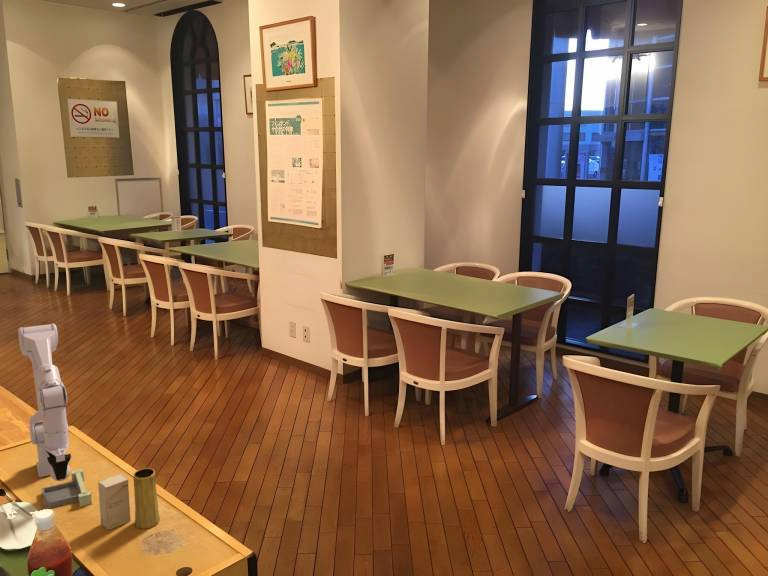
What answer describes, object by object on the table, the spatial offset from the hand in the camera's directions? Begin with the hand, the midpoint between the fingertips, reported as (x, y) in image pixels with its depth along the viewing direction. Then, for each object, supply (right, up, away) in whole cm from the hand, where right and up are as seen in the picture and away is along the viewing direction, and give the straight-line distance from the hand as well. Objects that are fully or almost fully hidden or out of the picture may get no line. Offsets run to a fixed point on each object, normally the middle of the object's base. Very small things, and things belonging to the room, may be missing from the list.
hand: (59, 474), depth 175 cm
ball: (0, +1, 0) cm, 1 cm away
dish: (0, -7, +2) cm, 7 cm away
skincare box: (+19, -10, -9) cm, 24 cm away
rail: (+4, -6, +4) cm, 9 cm away
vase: (+27, -10, -9) cm, 31 cm away
